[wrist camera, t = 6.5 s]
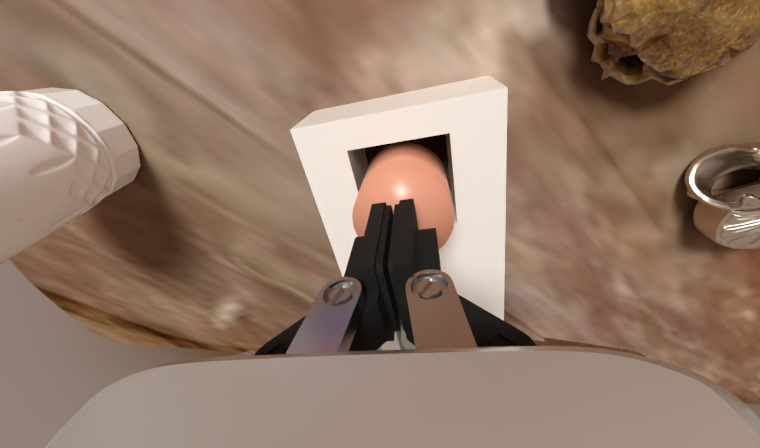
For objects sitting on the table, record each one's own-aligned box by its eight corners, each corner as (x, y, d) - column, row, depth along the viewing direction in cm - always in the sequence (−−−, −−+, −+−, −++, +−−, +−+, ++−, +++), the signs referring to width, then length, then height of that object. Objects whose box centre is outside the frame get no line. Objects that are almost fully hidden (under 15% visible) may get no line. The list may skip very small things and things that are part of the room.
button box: (488, 75, 16) (507, 87, 13) (492, 324, 26) (503, 366, 23) (313, 111, 18) (290, 129, 15) (380, 329, 28) (376, 369, 25)
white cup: (172, 157, 21) (5, 244, 12) (116, 208, 24) (-49, 306, 15) (59, 47, 17) (-269, 63, 9) (11, 122, 20) (-270, 186, 12)
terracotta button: (442, 135, 15) (450, 166, 11) (449, 212, 17) (458, 256, 14) (356, 150, 16) (340, 182, 12) (374, 221, 18) (365, 265, 14)
